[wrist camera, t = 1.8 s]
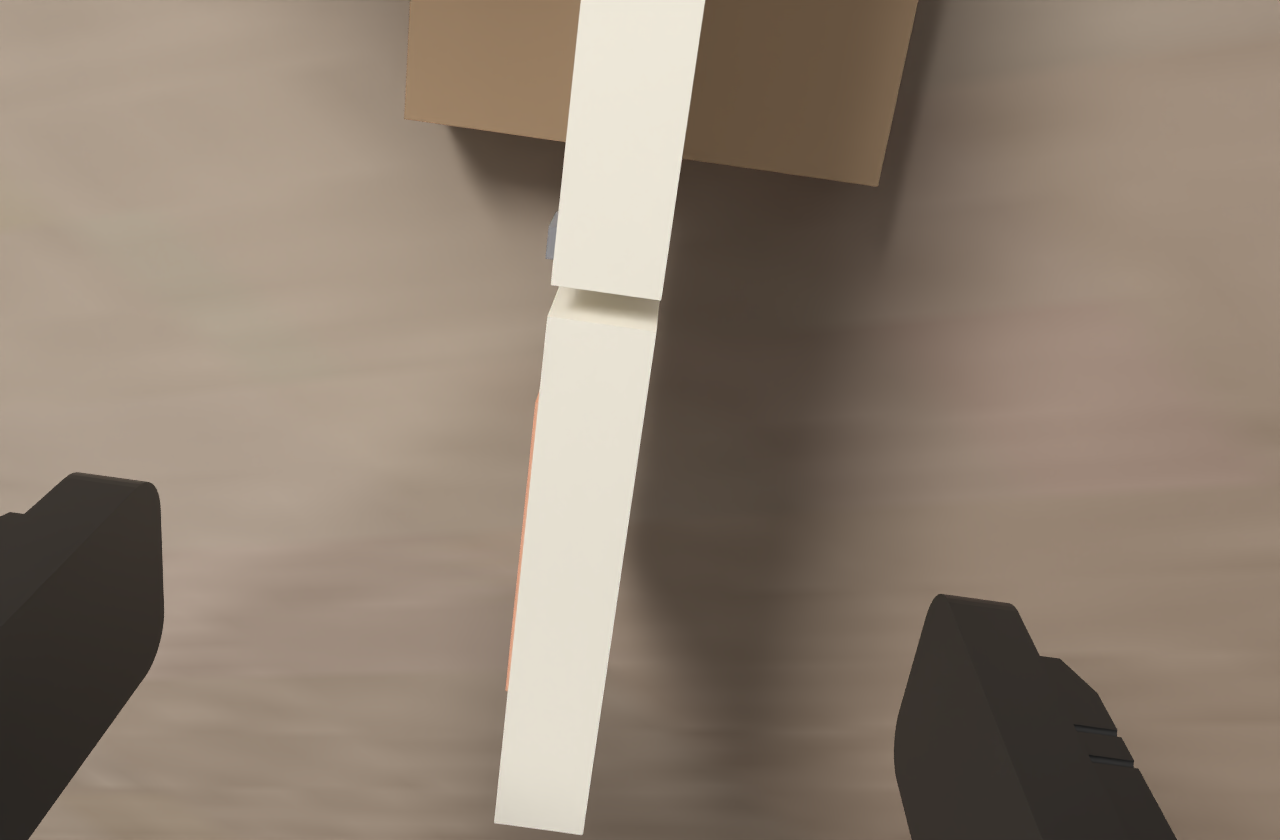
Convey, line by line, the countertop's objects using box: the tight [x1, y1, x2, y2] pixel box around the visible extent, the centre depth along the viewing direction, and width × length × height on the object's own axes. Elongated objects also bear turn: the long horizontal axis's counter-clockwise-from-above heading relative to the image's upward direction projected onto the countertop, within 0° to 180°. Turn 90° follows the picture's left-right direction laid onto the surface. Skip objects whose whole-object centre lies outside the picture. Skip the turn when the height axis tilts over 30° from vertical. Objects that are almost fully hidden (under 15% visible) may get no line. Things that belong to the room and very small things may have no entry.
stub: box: [494, 286, 660, 835], centre depth 15 cm, size 6×1×7 cm, turn 172°
